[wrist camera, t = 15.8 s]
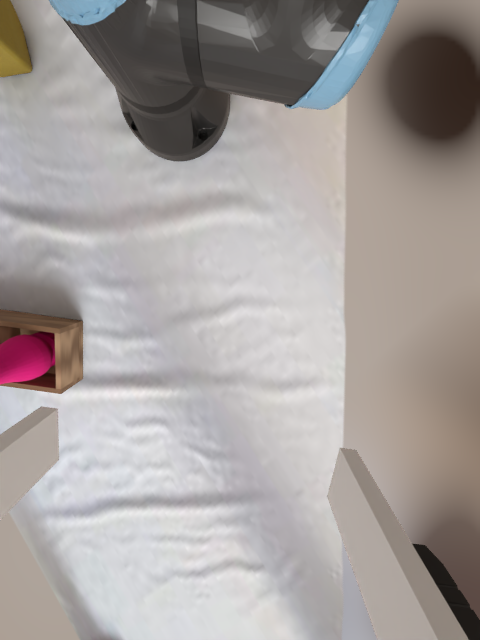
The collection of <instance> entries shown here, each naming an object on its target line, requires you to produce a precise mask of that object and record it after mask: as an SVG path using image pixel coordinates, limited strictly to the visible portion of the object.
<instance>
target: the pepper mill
mask: <svg viewBox="0 0 480 640" xmlns="http://www.w3.org/2000/svg"><path fill="white" fill-rule="evenodd" d="M54 365H55V334H54V333H50V332H43V331H40V332H37V333H34V334H31V335H26V334H23V335H18V336H15V337H12V338H10V339H8V340H6V341H5V342H3V343H2V344H0V384H4V383H11V382H22V381H27V380H32V379H34V378H37V377H39V376H41V375H43V374H45V373H46V372H47V371H48V370H49V368H50V367H52V366H54Z"/></svg>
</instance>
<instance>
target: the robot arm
mask: <svg viewBox="0 0 480 640" xmlns="http://www.w3.org/2000/svg"><path fill="white" fill-rule="evenodd" d="M49 1H50V3H51V5H52V7H53V8H54V9H55V10H56V12H57V13H58V14H59V15H60V16H61V17H62V18H63V20H64V21H65V22H66V23H67V25H68V26H69V27H70V29H71V30H72V31H73V33H74V34H75V35H76V36H77V38H78V39H79V40H80V42H81V43H82V44H83V46H84V47H85V48H86V50H87V51H88V52H89V53H90V55H91V56H92V57H93V59H94V60H95V61H96V63H97V64H98V65H99V67H100V68H101V69H102V70H103V72H104V73H105V74H106V76H107V77H108V78H109V80H110V81H111V82H112V84H113V85H114V86H115V88H116V92H117V95H118V99H119V102H120V106H121V109H122V112H123V115H124V117H125V120H126V122H127V123H128V125H129V127H130V129H131V130H132V132H133V133H134V134H135V136H136V137H137V138H138V139H139V140H140V141H141V143H142V144H143V145H144V146H145V147H146V148H147V149H149V150H150V151H151V152H153V153H154V154H156V155H157V156H159V157H162V158H164V159H167V160H172V161H187V160H192V159H195V158H197V157H199V156H201V155H203V154H205V153H206V152H207V151H209V150H210V149H211V148H212V147H213V146H214V145H215V144H216V143H217V141H218V140H219V138H220V137H221V135H222V133H223V131H224V129H225V126H226V124H227V120H228V116H229V109H230V96H229V93H230V94H235V95H240V96H245V97H250V98H255V99H260V100H266V101H271V102H276V103H281V104H285V107H287V108H290V109H293V108H297V107H302V108H310V109H317V110H323V109H327V108H329V107H331V106H332V105H335V104H337V103H338V102H339V101H340V100H341V99H342V98H343V97H344V96H345V95H346V94H347V93H348V92H349V91H350V89H351V88H352V87H353V85H354V84H355V82H356V81H357V79H358V78H359V76H360V75H361V73H362V71H363V70H364V68H365V67H366V65H367V63H368V61H369V60H370V58H371V56H372V54H373V52H374V50H375V49H376V47H377V45H378V43H379V41H380V39H381V37H382V35H383V33H384V31H385V29H386V27H387V25H388V23H389V21H390V19H391V17H392V14H393V12H394V10H395V8H396V6H397V3H398V1H399V0H49ZM58 460H59V439H58V409H56V408H48V407H40V408H38V409H37V410H35V411H34V412H33V413H31V414H30V415H28V416H27V417H25V418H24V419H22V420H21V421H19V422H18V423H17V424H15V425H14V426H12V427H11V428H9V429H8V430H6V431H5V432H3V433H2V434H1V435H0V520H1V519H2V518H3V517H4V516H5V515H6V514H7V513H8V512H9V511H10V510H11V509H12V508H13V507H14V506H15V505H16V504H17V502H18V501H19V500H20V499H21V498H22V497H23V496H24V495H25V494H26V493H27V492H28V491H29V490H30V489H31V488H32V487H33V486H34V485H35V484H36V483H37V482H38V481H39V480H40V479H41V478H42V477H43V476H44V475H45V473H46V472H47V471H48V470H49V469H50V468H51V467H52V466H53V465H54V464H55V463H56V462H57V461H58ZM327 497H328V500H329V503H330V506H331V509H332V511H333V514H334V517H335V520H336V523H337V526H338V529H339V532H340V534H341V537H342V540H343V543H344V546H345V549H346V551H347V554H348V557H349V560H350V563H351V566H352V569H353V572H354V574H355V577H356V580H357V583H358V586H359V589H360V592H361V594H362V597H363V600H364V603H365V606H366V609H367V612H368V615H369V617H370V620H371V623H372V626H373V629H374V632H375V634H376V637H377V640H480V620H479V618H478V617H477V615H476V614H475V612H474V611H473V610H471V608H470V605H469V603H468V602H467V600H466V599H465V597H464V595H463V594H462V593H461V591H460V590H458V588H457V585H456V583H455V582H454V580H453V579H452V577H451V576H450V574H449V573H448V571H447V570H446V568H445V567H444V565H443V564H442V563H441V562H440V561H439V560H438V558H437V557H436V556H435V555H434V554H433V553H432V552H431V551H430V550H429V549H428V548H427V547H426V546H425V545H419V544H412V543H411V542H410V540H409V538H408V537H407V535H406V533H405V531H404V530H403V528H402V526H401V525H400V523H399V521H398V520H397V518H396V516H395V515H394V513H393V511H392V510H391V508H390V506H389V504H388V503H387V501H386V499H385V498H384V496H383V494H382V493H381V491H380V489H379V488H378V486H377V484H376V482H375V481H374V479H373V477H372V476H371V474H370V472H369V471H368V469H367V467H366V466H365V464H364V463H363V461H362V459H361V457H360V456H359V454H358V452H357V450H352V449H345V448H340V449H339V453H338V457H337V461H336V465H335V468H334V472H333V476H332V480H331V484H330V488H329V492H328V495H327Z"/></svg>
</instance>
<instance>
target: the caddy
mask: <svg viewBox="0 0 480 640" xmlns="http://www.w3.org/2000/svg"><path fill="white" fill-rule="evenodd" d="M40 331H43V332H50V333H54V334H55V365H54V366H52V367H50V368H49V370H48V371H47V372H46V373H45V374H43V375H41V376H39V377H37V378H34V379H32V380H27V381H22V382H11V383H4V384H0V386H8V387H15V388H22V389H29V390H37V391H44V392H51V393H58V394H62V393H63V392H64V391H66V390H67V389H69V388H70V387H72V386H73V385H75V384H76V383H77V382H79V381H80V380H82V379H83V321H80V320H72V319H65V318H58V317H51V316H44V315H37V314H30V313H22V312H15V311H8V310H1V309H0V344H2V343H3V342H5V341H6V340H8V339H10V338H12V337H15V336H18V335H23V334H26V335H31V334H34V333H37V332H40Z"/></svg>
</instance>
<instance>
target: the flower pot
mask: <svg viewBox="0 0 480 640" xmlns="http://www.w3.org/2000/svg"><path fill="white" fill-rule="evenodd" d="M31 71H32V65H31V61H30V57H29V53H28V49H27V44H26V40H25V36H24V32H23V29H22V26H21V24H20V21H19V19H18V16H17V14H16V11H15V9H14V7H13V5H12V3H11V1H10V0H0V77H6V76H12V75H17V74H23V73H29V72H31Z"/></svg>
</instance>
